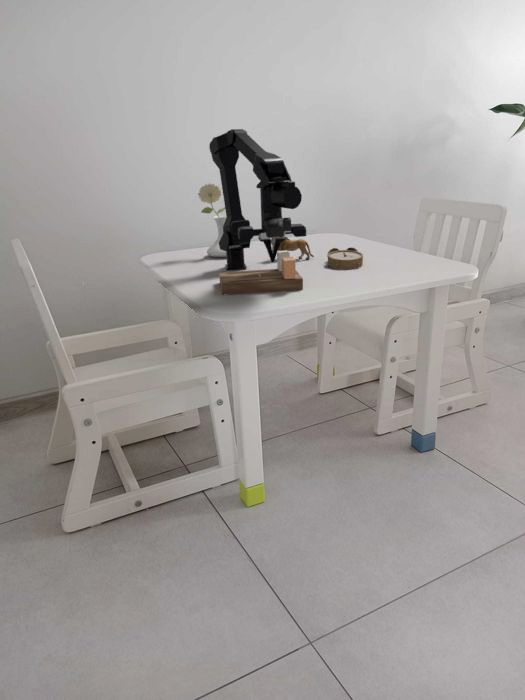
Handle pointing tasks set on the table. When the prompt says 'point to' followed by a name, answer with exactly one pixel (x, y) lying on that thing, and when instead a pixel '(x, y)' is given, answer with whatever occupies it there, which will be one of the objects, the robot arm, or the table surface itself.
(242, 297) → the table surface
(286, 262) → the terracotta fader
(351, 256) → the alarm clock
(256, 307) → the table surface
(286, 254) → the block
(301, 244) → the lion figurine
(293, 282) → the board
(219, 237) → the flower in vase
